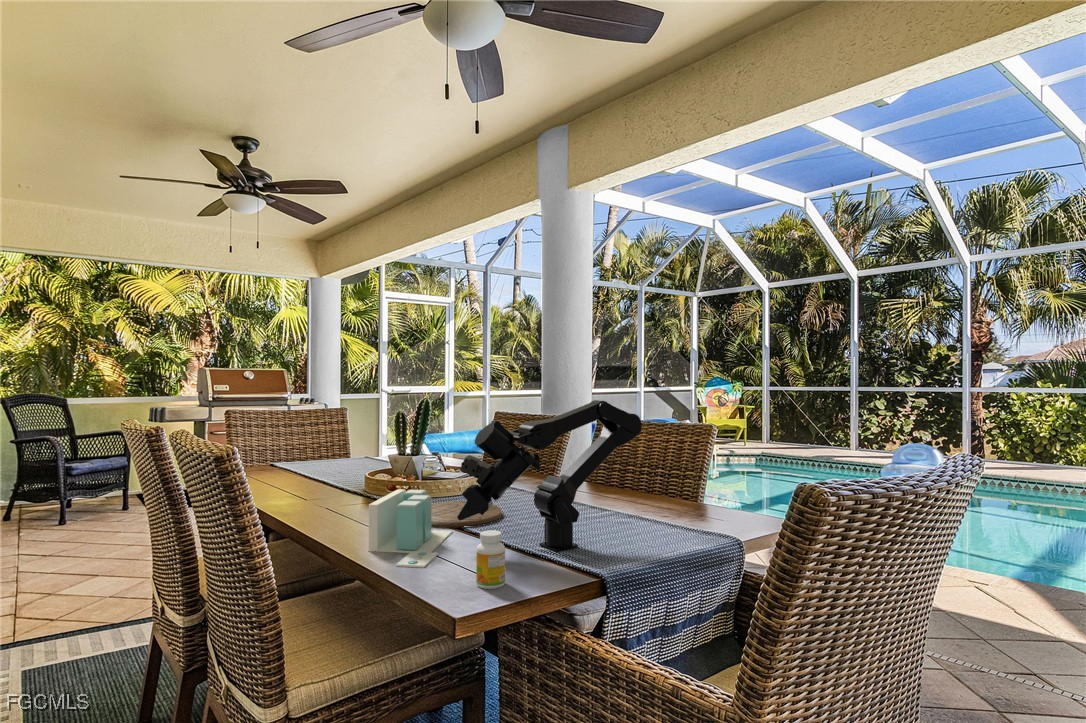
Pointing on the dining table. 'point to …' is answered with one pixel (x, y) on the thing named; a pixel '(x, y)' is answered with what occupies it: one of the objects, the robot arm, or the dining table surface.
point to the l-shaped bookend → (394, 526)
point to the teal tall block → (409, 525)
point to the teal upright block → (424, 514)
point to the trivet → (448, 512)
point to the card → (417, 559)
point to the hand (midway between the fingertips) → (458, 518)
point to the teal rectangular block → (413, 493)
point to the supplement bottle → (490, 560)
